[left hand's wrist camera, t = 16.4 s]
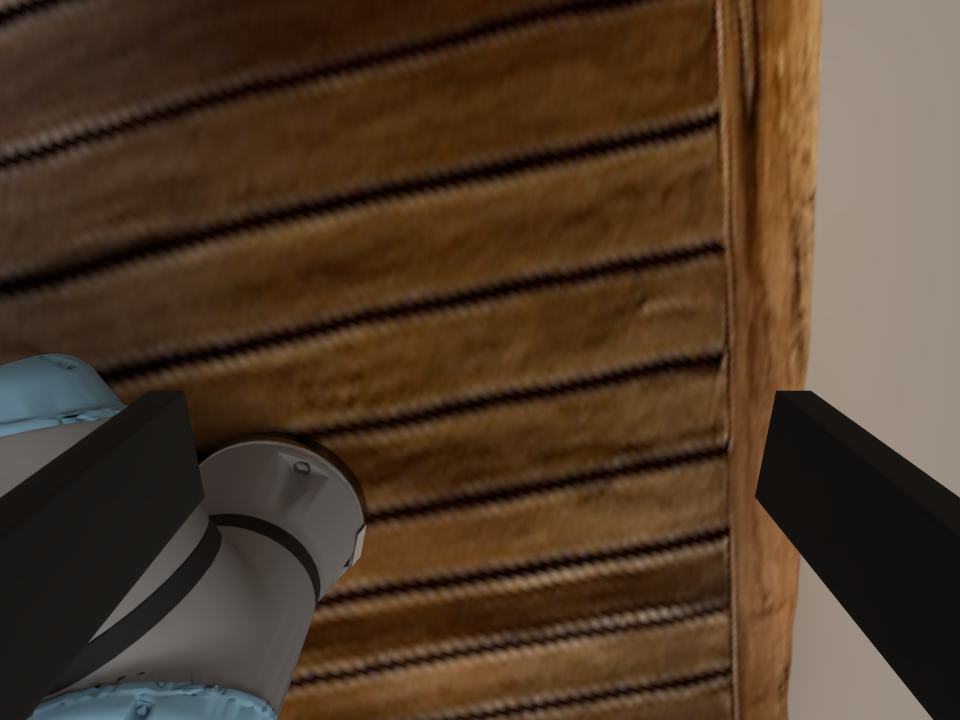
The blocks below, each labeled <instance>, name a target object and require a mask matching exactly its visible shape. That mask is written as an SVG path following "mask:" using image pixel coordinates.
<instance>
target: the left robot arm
mask: <svg viewBox="0 0 960 720" xmlns="http://www.w3.org/2000/svg"><path fill="white" fill-rule="evenodd" d="M755 498H756V499H757V500H758V501H759V503H760V504H761V505H762V506H763V508H764V509H765V510H766V511H767V513H768V514H769V515H770V516H771V518H772V519H773V520H774V521H775V523H776V524H777V525H778V526H779V528H780V529H781V530H782V531H783V533H784V534H785V535H786V536H787V538H788V539H789V540H790V541H791V543H792V544H793V545H794V546H795V548H796V549H797V550H798V551H799V553H800V554H801V555H802V556H803V558H804V559H805V560H806V561H807V563H808V564H809V565H810V566H811V568H812V569H813V570H814V571H815V573H816V574H817V575H818V576H819V578H820V579H821V580H822V581H823V583H824V584H825V585H826V586H827V588H828V589H829V590H830V591H831V592H832V594H833V595H834V596H835V597H836V599H837V600H838V601H839V602H840V604H841V605H842V606H843V607H844V609H845V610H846V611H847V612H848V614H849V615H850V616H851V617H852V619H853V620H854V621H855V622H856V624H857V625H858V626H859V627H860V629H861V630H862V631H863V632H864V634H865V635H866V636H867V637H868V639H869V640H870V641H871V642H872V644H873V645H874V646H875V647H876V649H877V650H878V651H879V652H880V654H881V655H882V656H883V657H884V659H885V660H886V661H887V662H888V664H889V665H890V666H891V667H892V669H893V670H894V671H895V672H896V674H897V675H898V676H899V677H900V679H901V680H902V681H903V682H904V684H905V685H906V686H907V687H908V689H909V690H910V691H911V692H912V694H913V695H914V696H915V697H916V699H917V700H918V701H919V702H920V704H921V705H922V706H923V707H924V709H925V710H926V711H927V712H928V714H929V715H930V716H931V717H932V719H933V720H960V497H958V496H957V495H955V494H954V493H953V492H951V491H950V490H948V489H947V488H946V487H944V486H943V485H941V484H940V483H939V482H937V481H936V480H934V479H933V478H932V477H930V476H929V475H927V474H926V473H925V472H923V471H922V470H921V469H919V468H918V467H916V466H915V465H914V464H912V463H911V462H909V461H908V460H907V459H905V458H904V457H902V456H901V455H900V454H898V453H897V452H895V451H894V450H893V449H891V448H890V447H888V446H887V445H886V444H884V443H883V442H882V441H880V440H879V439H877V438H876V437H874V436H873V435H872V434H870V433H869V432H868V431H866V430H865V429H863V428H862V427H861V426H859V425H858V424H856V423H855V422H854V421H852V420H851V419H849V418H848V417H847V416H845V415H844V414H842V413H841V412H840V411H838V410H837V409H835V408H834V407H833V406H831V405H830V404H828V403H827V402H826V401H824V400H823V399H822V398H820V397H819V396H817V395H816V394H815V393H813V392H812V391H776V394H775V399H774V404H773V409H772V414H771V419H770V424H769V429H768V434H767V439H766V444H765V449H764V454H763V459H762V464H761V469H760V474H759V479H758V484H757V489H756V494H755ZM366 526H367V506H366V501H365V497H364V494H363V491H362V489H361V487H360V485H359V483H358V481H357V480H356V478H355V477H354V475H353V474H352V472H351V471H350V470H349V469H348V468H347V467H346V465H345V464H344V463H343V462H342V461H340V460H339V459H338V458H337V457H336V456H334V455H333V454H332V453H331V452H329V451H327V450H326V449H324V448H323V447H321V446H319V445H317V444H315V443H313V442H311V441H308V440H306V439H303V438H300V437H296V436H292V435H287V434H281V433H256V434H250V435H245V436H241V437H238V438H235V439H233V440H230V441H228V442H226V443H224V444H222V445H221V446H219V447H218V448H216V449H215V450H214V451H213V452H211V453H210V454H209V455H208V456H207V457H206V458H205V460H204V461H203V462H202V463H201V464H200V465H199V464H198V459H197V454H196V449H195V444H194V439H193V434H192V429H191V424H190V419H189V414H188V409H187V404H186V399H185V394H184V391H148V392H147V393H145V394H144V395H143V396H141V397H140V398H138V399H137V400H136V401H134V402H133V403H131V404H130V405H129V406H128V405H124V404H123V403H122V401H121V400H120V399H119V398H118V397H117V396H116V395H115V393H114V392H113V391H112V390H111V389H110V388H109V386H108V385H107V384H106V383H105V382H104V381H103V380H102V378H101V377H100V376H99V375H98V374H97V373H96V371H95V370H94V369H93V368H92V367H91V366H90V365H89V364H88V363H86V362H85V361H83V360H81V359H79V358H77V357H75V356H71V355H67V354H59V353H52V354H43V355H37V356H33V357H29V358H26V359H22V360H18V361H15V362H12V363H8V364H5V365H1V366H0V720H278V718H279V715H280V712H281V709H282V706H283V703H284V700H285V697H286V694H287V691H288V688H289V685H290V682H291V679H292V677H293V674H294V671H295V668H296V665H297V662H298V659H299V656H300V653H301V650H302V647H303V644H304V641H305V638H306V635H307V632H308V629H309V626H310V623H311V620H312V617H313V614H314V612H315V609H316V606H317V603H318V602H319V601H320V599H321V598H322V597H323V596H324V595H325V594H326V593H327V592H328V590H329V589H330V588H331V587H332V585H333V584H334V582H335V581H337V580H338V579H339V578H340V577H341V576H342V575H343V574H344V573H345V572H346V571H347V570H348V568H349V567H350V566H351V565H352V566H353V565H354V563H355V562H356V561H357V560H358V559H359V557H360V556H361V551H362V546H363V541H364V535H365V530H366ZM352 563H353V564H352Z"/></svg>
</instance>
